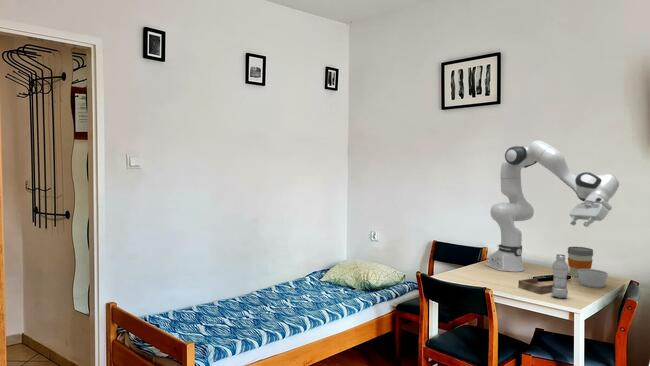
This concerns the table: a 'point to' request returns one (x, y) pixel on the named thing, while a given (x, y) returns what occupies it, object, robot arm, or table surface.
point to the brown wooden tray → (535, 286)
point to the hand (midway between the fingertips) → (578, 225)
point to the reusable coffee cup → (579, 259)
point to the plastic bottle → (560, 277)
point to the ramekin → (592, 277)
